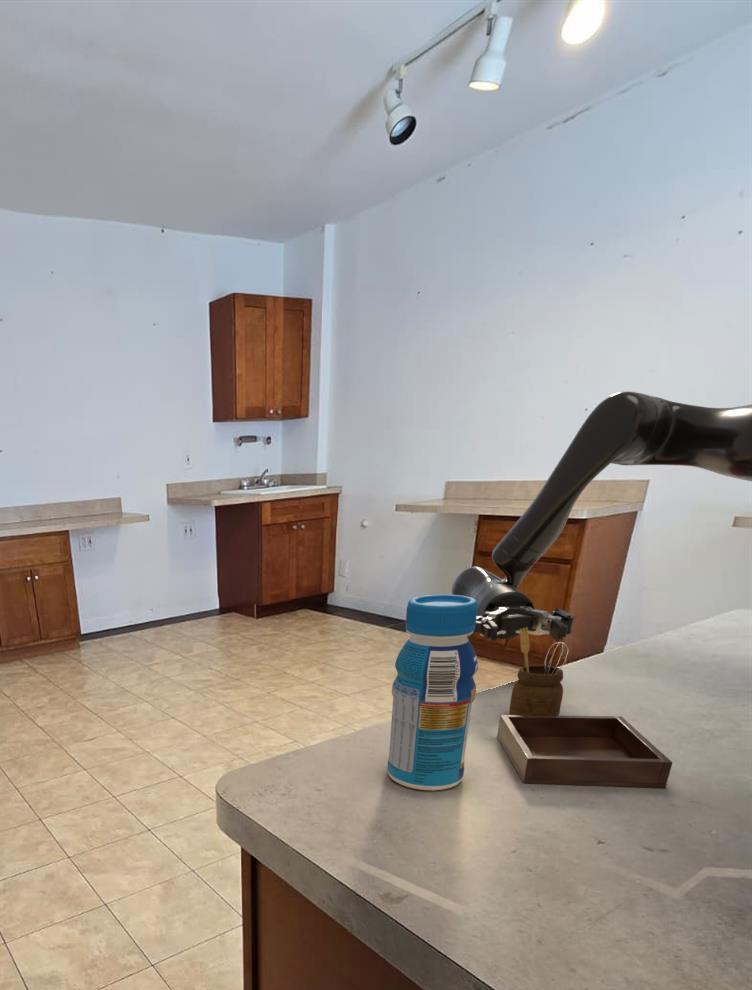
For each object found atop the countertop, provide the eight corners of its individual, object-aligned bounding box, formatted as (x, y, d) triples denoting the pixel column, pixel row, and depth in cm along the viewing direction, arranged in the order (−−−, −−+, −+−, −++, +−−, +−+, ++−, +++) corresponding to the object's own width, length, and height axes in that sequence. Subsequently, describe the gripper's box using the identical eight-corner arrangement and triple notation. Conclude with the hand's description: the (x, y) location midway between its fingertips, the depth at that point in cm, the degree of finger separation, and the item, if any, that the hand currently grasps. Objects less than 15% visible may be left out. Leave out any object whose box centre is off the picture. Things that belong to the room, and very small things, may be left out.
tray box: (616, 738, 79) (621, 716, 77) (665, 788, 67) (673, 762, 65) (496, 736, 82) (500, 714, 81) (523, 783, 70) (527, 758, 69)
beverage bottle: (370, 777, 74) (382, 603, 65) (410, 755, 78) (426, 590, 70) (439, 800, 68) (461, 611, 59) (478, 775, 72) (503, 596, 64)
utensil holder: (541, 731, 82) (557, 639, 77) (496, 718, 87) (509, 631, 82) (567, 720, 85) (585, 631, 80) (522, 708, 90) (536, 624, 85)
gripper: (457, 588, 104) (476, 608, 90) (554, 585, 101) (589, 605, 87) (452, 633, 107) (469, 660, 93) (546, 632, 104) (578, 659, 90)
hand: (527, 633), depth 90 cm, fingers open, 8 cm apart
